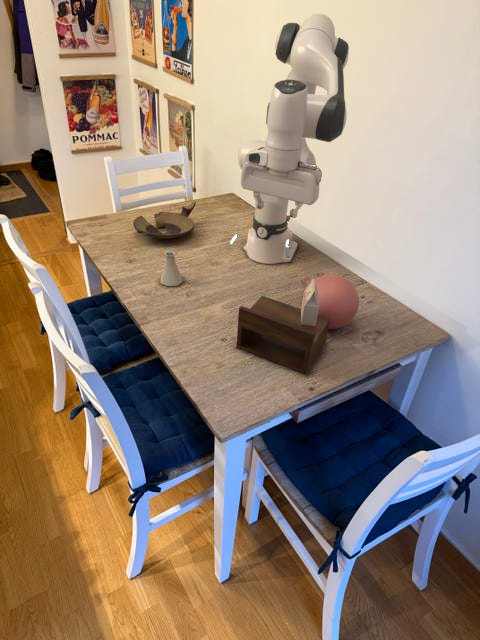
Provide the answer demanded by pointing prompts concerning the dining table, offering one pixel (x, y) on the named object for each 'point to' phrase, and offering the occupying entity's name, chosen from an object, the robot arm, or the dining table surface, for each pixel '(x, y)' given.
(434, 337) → the dining table surface
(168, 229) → the broken brown bowl
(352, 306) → the balloon
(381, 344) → the dining table surface
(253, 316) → the rack
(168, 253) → the flask
